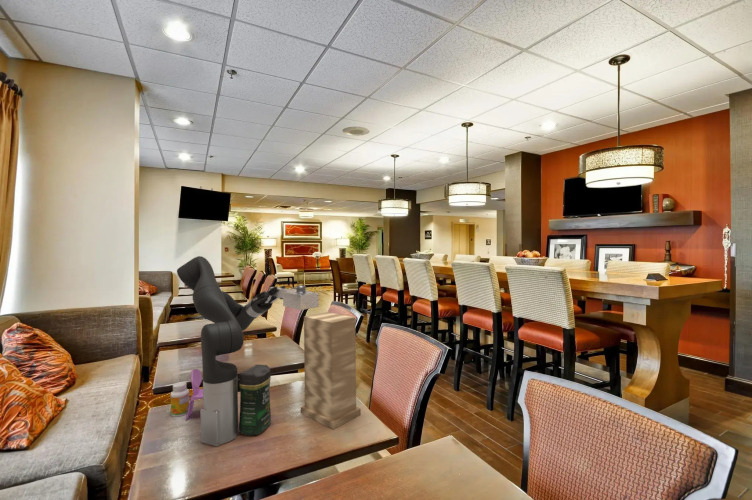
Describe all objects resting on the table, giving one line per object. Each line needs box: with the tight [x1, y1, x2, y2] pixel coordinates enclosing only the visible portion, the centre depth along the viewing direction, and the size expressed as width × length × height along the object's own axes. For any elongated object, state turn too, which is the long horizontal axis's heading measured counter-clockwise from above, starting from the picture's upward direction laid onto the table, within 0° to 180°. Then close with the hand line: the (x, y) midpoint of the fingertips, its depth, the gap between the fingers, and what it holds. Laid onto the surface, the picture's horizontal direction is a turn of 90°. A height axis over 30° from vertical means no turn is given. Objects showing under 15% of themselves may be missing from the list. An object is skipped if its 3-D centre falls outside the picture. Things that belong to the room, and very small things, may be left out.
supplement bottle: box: [170, 381, 190, 418], centre depth 116 cm, size 5×5×10 cm
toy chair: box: [185, 368, 203, 422], centre depth 115 cm, size 8×9×15 cm
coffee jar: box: [238, 364, 272, 436], centre depth 106 cm, size 10×8×19 cm
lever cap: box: [268, 284, 320, 311], centre depth 129 cm, size 23×8×7 cm, turn 50°
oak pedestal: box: [300, 311, 362, 430], centre depth 115 cm, size 16×12×32 cm
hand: (280, 288), depth 133 cm, fingers closed on lever cap, 3 cm apart
